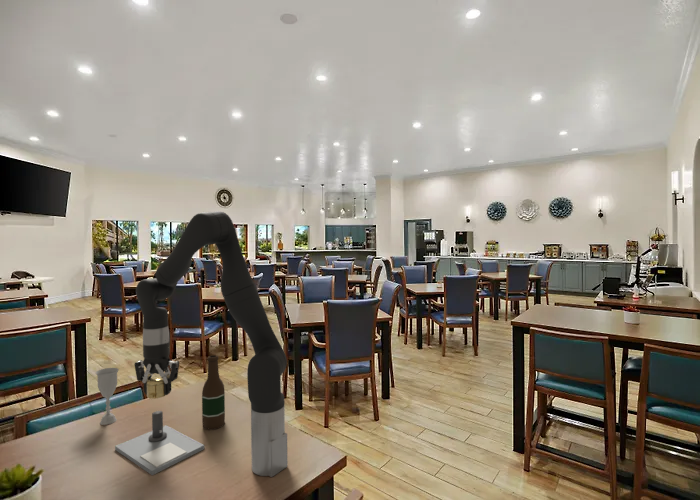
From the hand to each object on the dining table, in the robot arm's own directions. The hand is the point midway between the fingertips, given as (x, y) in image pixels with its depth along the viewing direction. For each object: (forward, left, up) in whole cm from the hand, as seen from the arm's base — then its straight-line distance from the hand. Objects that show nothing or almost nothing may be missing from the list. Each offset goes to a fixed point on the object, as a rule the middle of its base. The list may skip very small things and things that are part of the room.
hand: (157, 393), depth 120 cm
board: (-5, +2, -15) cm, 16 cm away
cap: (0, 0, 0) cm, 0 cm away
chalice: (+28, +3, -16) cm, 32 cm away
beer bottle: (-5, -17, -16) cm, 23 cm away
